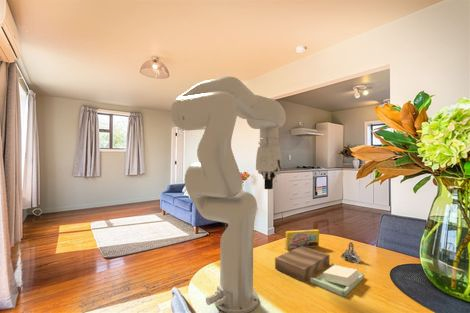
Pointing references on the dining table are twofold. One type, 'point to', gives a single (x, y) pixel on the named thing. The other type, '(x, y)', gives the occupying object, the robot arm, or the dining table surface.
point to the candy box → (302, 239)
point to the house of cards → (351, 254)
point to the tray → (335, 284)
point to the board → (302, 262)
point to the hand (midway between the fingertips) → (268, 188)
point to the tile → (341, 275)
